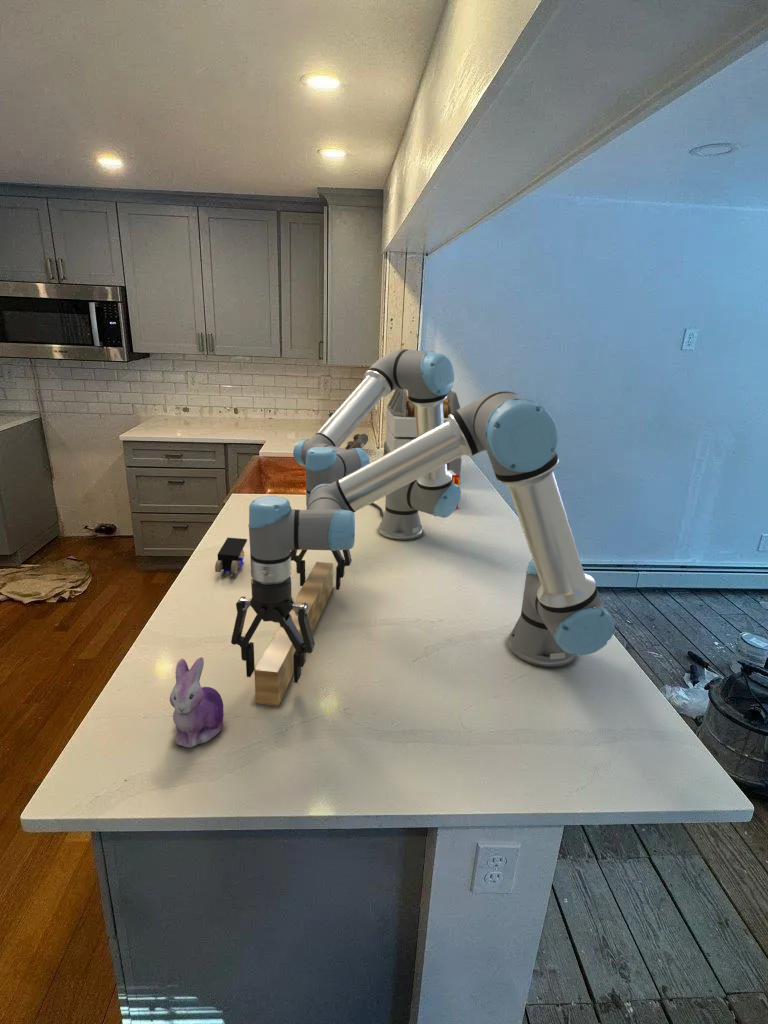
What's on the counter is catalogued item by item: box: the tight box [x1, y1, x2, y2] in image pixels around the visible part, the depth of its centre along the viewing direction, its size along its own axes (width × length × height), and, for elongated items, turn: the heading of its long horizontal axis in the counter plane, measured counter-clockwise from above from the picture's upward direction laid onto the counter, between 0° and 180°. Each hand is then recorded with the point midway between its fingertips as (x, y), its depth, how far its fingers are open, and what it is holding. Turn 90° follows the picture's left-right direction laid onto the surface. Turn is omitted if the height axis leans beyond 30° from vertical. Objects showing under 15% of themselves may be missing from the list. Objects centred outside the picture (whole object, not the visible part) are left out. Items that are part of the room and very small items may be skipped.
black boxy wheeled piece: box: [214, 537, 248, 578], centre depth 166 cm, size 7×8×15 cm
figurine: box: [169, 657, 225, 748], centre depth 102 cm, size 9×10×15 cm
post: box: [253, 561, 334, 707], centre depth 134 cm, size 51×5×8 cm, turn 173°
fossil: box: [344, 432, 369, 450], centre depth 306 cm, size 22×10×15 cm
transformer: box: [383, 389, 463, 476], centre depth 268 cm, size 34×33×41 cm
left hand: (320, 585), depth 154 cm, fingers open, 9 cm apart
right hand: (274, 675), depth 116 cm, fingers open, 9 cm apart
